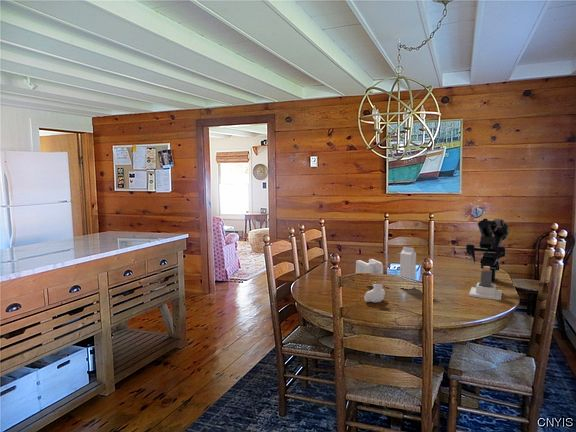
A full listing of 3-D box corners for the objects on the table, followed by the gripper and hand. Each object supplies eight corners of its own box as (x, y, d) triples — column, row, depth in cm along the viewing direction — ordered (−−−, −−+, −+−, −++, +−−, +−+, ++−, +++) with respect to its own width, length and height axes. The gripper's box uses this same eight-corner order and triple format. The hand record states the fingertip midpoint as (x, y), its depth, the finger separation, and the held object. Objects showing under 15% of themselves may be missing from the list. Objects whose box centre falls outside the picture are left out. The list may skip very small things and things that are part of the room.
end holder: (471, 289, 214) (472, 280, 214) (501, 292, 208) (502, 283, 207) (468, 296, 202) (469, 286, 202) (500, 300, 195) (501, 290, 195)
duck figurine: (366, 308, 192) (376, 293, 185) (358, 295, 197) (367, 280, 190) (385, 304, 198) (396, 289, 191) (376, 291, 203) (387, 277, 196)
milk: (404, 286, 221) (405, 245, 219) (415, 288, 217) (416, 247, 215) (399, 288, 217) (400, 247, 215) (410, 290, 213) (411, 248, 211)
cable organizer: (383, 284, 225) (384, 263, 224) (366, 285, 223) (366, 264, 221) (371, 277, 240) (371, 258, 239) (354, 278, 237) (354, 259, 236)
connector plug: (480, 290, 208) (482, 265, 206) (490, 291, 206) (491, 266, 204) (480, 292, 204) (481, 267, 203) (490, 293, 202) (491, 268, 200)
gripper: (467, 229, 221) (463, 253, 212) (506, 231, 211) (504, 256, 203) (468, 241, 228) (465, 264, 220) (505, 244, 219) (504, 268, 211)
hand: (484, 263), depth 213 cm, fingers open, 9 cm apart
